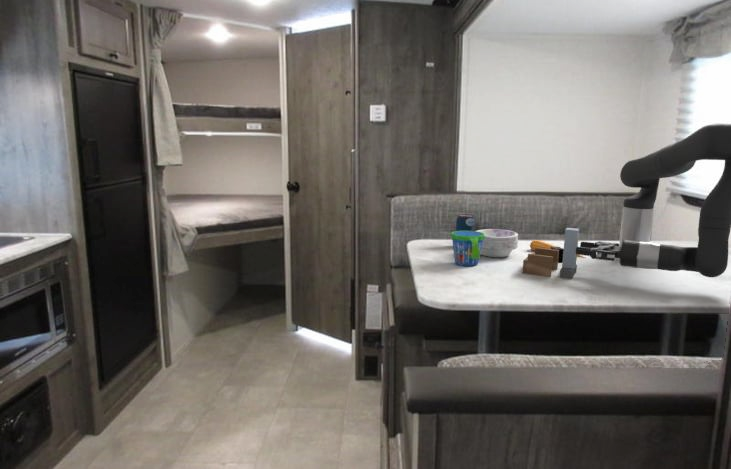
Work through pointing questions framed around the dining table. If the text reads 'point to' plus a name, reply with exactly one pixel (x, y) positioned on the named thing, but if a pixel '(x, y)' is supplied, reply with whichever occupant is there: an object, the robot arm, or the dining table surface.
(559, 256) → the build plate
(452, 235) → the snack cup
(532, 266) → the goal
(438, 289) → the dining table surface
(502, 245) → the paper bowls
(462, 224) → the soda can
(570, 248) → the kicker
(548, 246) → the carrot
